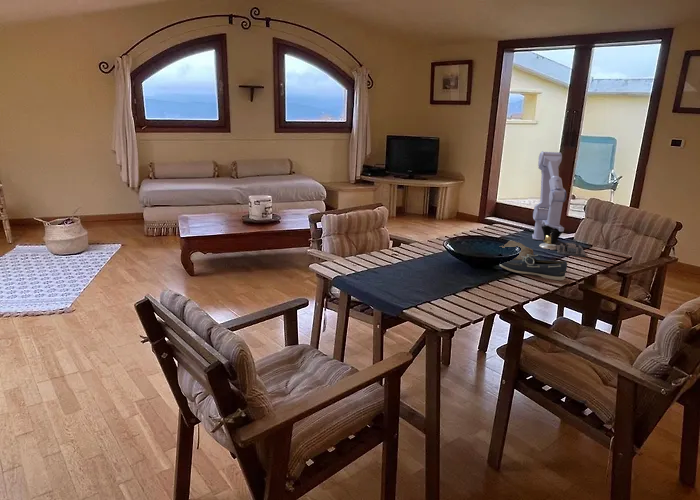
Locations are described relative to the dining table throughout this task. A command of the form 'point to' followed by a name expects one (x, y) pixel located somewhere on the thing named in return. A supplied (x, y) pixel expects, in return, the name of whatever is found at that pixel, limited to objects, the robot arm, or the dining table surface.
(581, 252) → the post base
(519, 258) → the artifact
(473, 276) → the dining table surface
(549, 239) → the cap
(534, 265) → the boat shoe
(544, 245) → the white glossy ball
